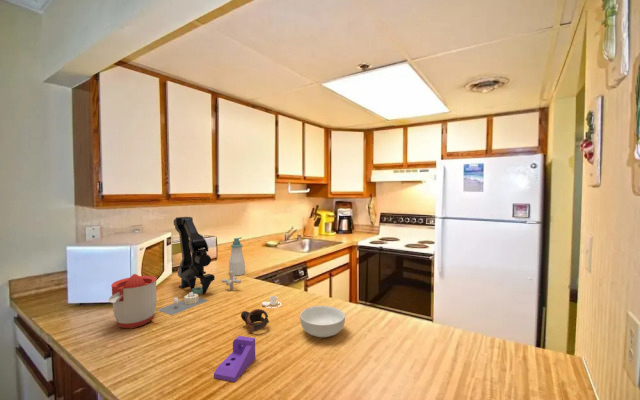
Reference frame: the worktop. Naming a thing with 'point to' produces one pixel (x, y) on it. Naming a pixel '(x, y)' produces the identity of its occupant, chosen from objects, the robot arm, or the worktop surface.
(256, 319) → the pottery mug
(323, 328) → the cereal bowl
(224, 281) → the pipe connector
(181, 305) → the gear board
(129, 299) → the citrus juicer
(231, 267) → the soap bottle
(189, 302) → the cream gear
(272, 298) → the teacup and saucer
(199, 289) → the teal gear
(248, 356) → the bracket
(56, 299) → the worktop surface
